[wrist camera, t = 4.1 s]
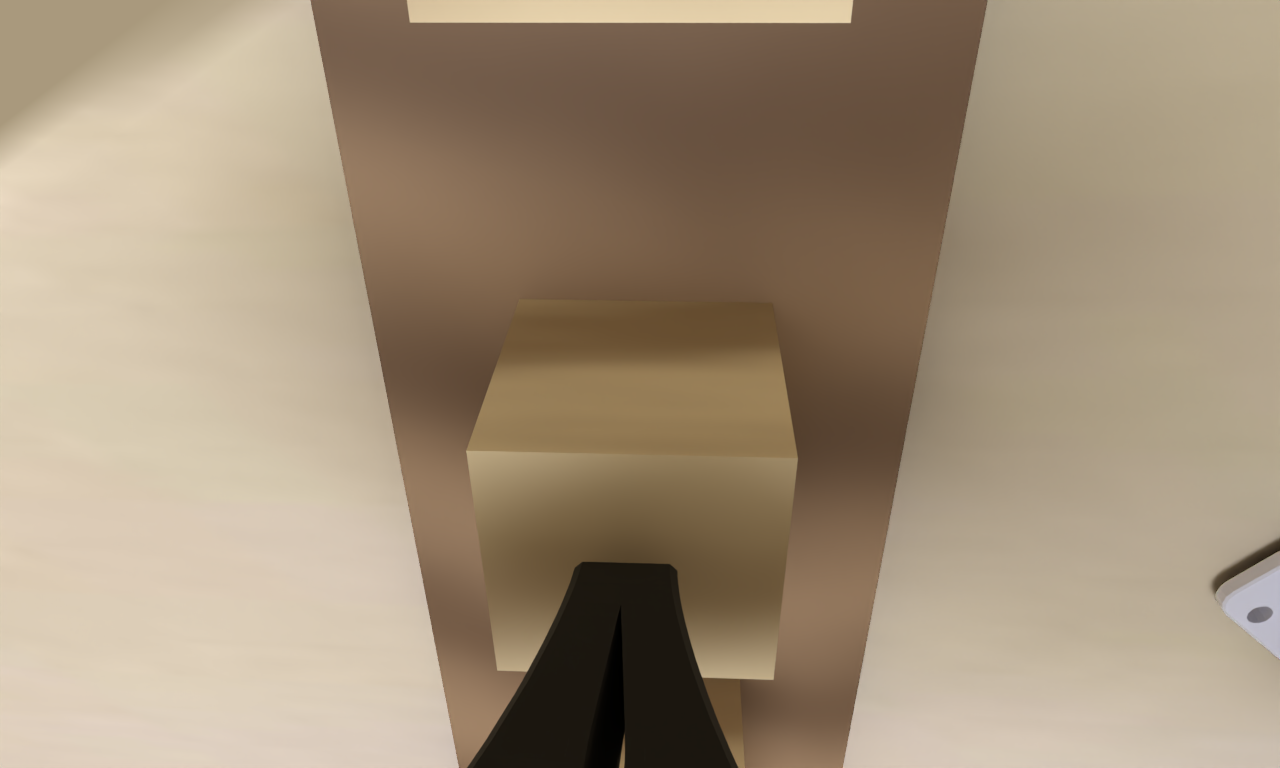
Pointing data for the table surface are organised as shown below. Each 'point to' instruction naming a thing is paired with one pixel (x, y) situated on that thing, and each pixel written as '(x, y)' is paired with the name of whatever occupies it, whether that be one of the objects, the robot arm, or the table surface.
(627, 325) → the plain block
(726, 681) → the block seven
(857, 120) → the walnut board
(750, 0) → the block one
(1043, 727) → the table surface
